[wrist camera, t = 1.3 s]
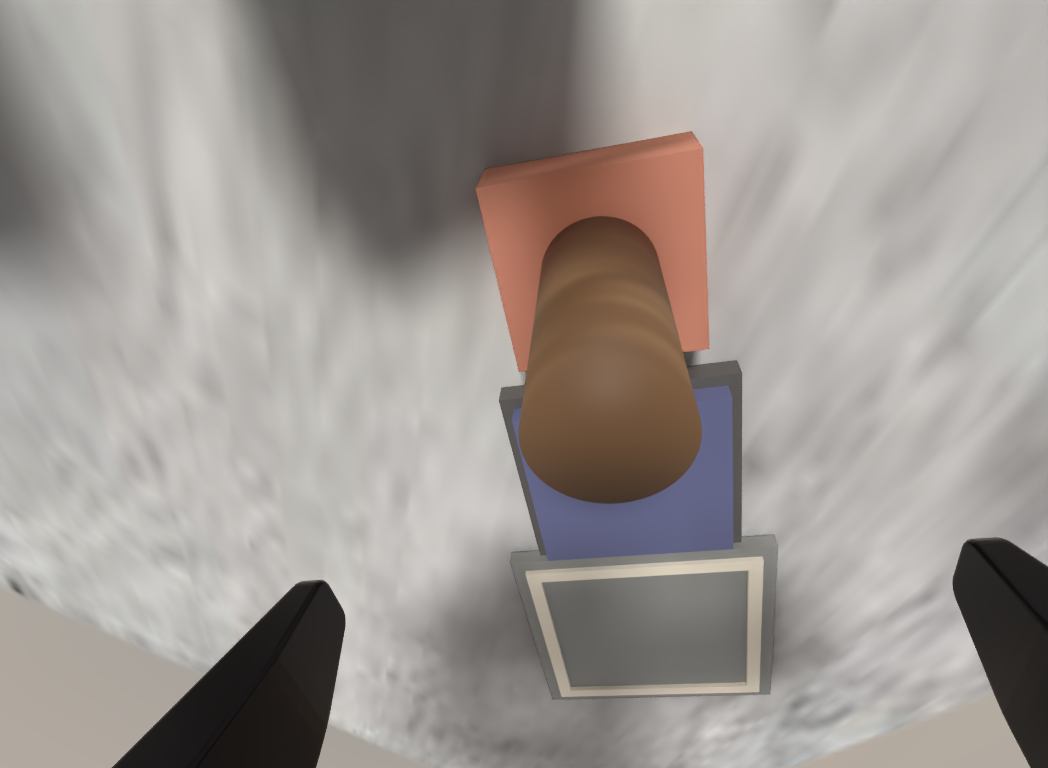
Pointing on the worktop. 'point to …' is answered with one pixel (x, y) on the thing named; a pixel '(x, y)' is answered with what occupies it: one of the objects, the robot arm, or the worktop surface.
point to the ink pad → (666, 517)
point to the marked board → (653, 621)
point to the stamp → (604, 310)
